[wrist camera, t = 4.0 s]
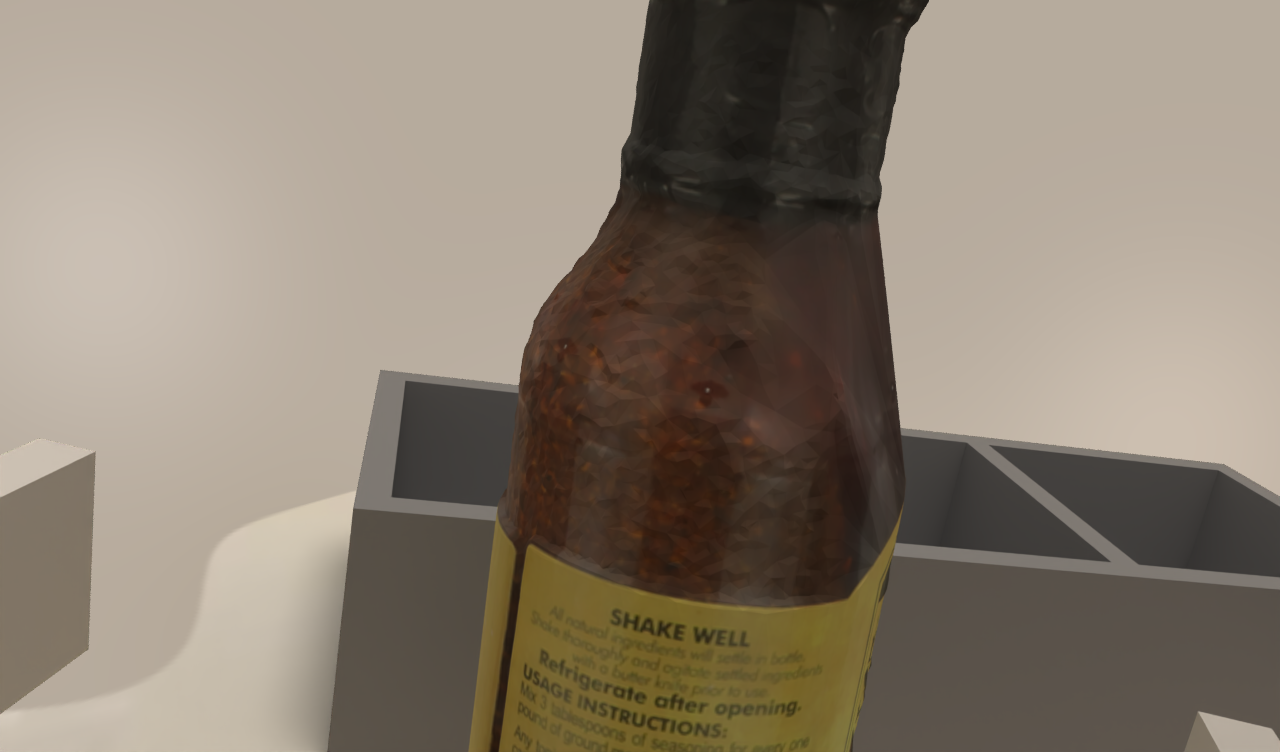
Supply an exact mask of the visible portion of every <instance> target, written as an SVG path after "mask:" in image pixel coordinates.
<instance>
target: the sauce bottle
mask: <svg viewBox="0 0 1280 752" xmlns="http://www.w3.org/2000/svg"><path fill="white" fill-rule="evenodd" d="M928 2H929V0H650V1H649V6H648V11H647V18H646V26H645V33H644V39H643V46H642V53H641V59H640V64H639V73H638V81H637V86H636V93H637V94H636V101H635V108H634V114H633V121H632V127H631V133H630V135H629V137H628V139H627V141H626V143H625V145H624V146H623V148H622V153H621V179H620V189H619V191H618V194H617V198H616V202H615V204H614V205H613V207H612V208H611V209H610V211H609V214H608V216H607V218H606V220H605V222H604V223H603V225H602V226H601V228H600V230H599V233H598V235H597V238H596V239H595V241H594V242H593V244H592V245H591V246H590V247H589V249H588V250H587V252H586V253H585V254H584V255H583V256H581V257H580V258H579V259H578V260H577V262H576V263H575V265H574V267H573V269H572V271H571V272H569V274H567V275H566V276H565V277H564V278H563V279H562V280H561V281H560V282H559V283H558V285H557V286H556V287H555V289H554V290H553V292H552V293H551V295H550V296H549V298H548V299H547V300H546V302H545V303H544V304H543V306H542V307H541V309H540V311H539V313H538V315H537V317H536V319H535V320H534V324H533V329H532V332H531V335H530V338H529V341H528V343H527V344H526V346H525V349H524V353H523V359H522V366H521V373H520V383H519V394H518V404H517V408H516V413H515V429H514V433H513V439H512V449H511V463H510V466H509V476H508V486H507V489H506V490H505V491H504V493H503V494H502V496H501V498H500V500H499V503H498V507H497V514H496V522H495V530H494V538H493V546H492V555H491V563H490V571H489V580H488V588H487V597H486V606H485V614H484V623H483V632H482V640H481V649H480V658H479V666H478V675H477V684H476V692H475V701H474V709H473V718H472V726H471V734H470V743H469V751H468V752H853V736H854V732H855V729H856V726H857V722H858V718H859V714H860V710H861V707H862V704H863V701H864V698H865V689H866V683H867V673H868V671H869V669H870V667H871V656H872V651H873V646H874V641H875V637H876V632H877V627H878V622H879V617H880V613H881V608H882V603H883V598H884V595H885V592H886V590H887V586H888V581H889V573H890V565H891V561H892V557H893V553H894V548H895V544H896V539H897V534H898V529H899V524H900V519H901V514H902V509H903V504H904V498H905V487H906V476H905V468H904V458H903V448H902V439H901V429H900V420H899V410H898V400H897V391H896V381H895V372H894V362H893V353H892V344H891V333H890V324H889V314H888V305H887V296H886V287H885V277H884V269H883V259H882V250H881V241H880V233H879V224H878V207H879V202H880V199H881V192H882V186H881V182H880V179H879V176H880V170H881V167H882V164H883V161H884V155H885V149H886V140H887V136H888V134H889V130H890V124H891V119H892V113H893V107H894V104H895V102H896V94H897V91H898V88H899V75H900V72H901V62H902V57H903V52H904V44H905V38H906V36H907V34H908V32H909V30H910V28H911V27H912V26H913V25H914V24H915V23H916V22H917V21H918V20H919V18H920V15H921V13H922V11H923V10H924V8H925V7H926V5H927V3H928Z"/></svg>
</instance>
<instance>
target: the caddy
mask: <svg viewBox="0 0 1280 752" xmlns="http://www.w3.org/2000/svg"><path fill="white" fill-rule="evenodd" d="M518 394H519V385H511V384H502V383H492V382H484V381H475V380H466V379H457V378H447V377H439V376H429V375H421V374H412V373H403V372H394V371H385V370H380V375H379V380H378V385H377V390H376V395H375V401H374V405H373V410H372V416H371V421H370V426H369V431H368V436H367V441H366V446H365V451H364V456H363V462H362V467H361V472H360V477H359V482H358V487H357V492H356V497H355V502H354V508H353V516H352V526H351V535H350V545H349V554H348V564H347V573H346V583H345V592H344V602H343V611H342V621H341V630H340V640H339V649H338V658H337V668H336V677H335V687H334V696H333V706H332V715H331V725H330V734H329V744H328V752H468V751H469V743H470V734H471V726H472V718H473V709H474V701H475V692H476V684H477V675H478V666H479V658H480V649H481V640H482V632H483V623H484V614H485V606H486V597H487V588H488V580H489V571H490V563H491V555H492V546H493V538H494V530H495V522H496V514H497V507H498V503H499V500H500V498H501V496H502V494H503V493H504V491H505V490H506V489H507V486H508V476H509V466H510V463H511V449H512V439H513V433H514V429H515V413H516V408H517V404H518ZM900 429H901V439H902V448H903V458H904V468H905V476H906V487H905V498H904V504H903V509H902V514H901V519H900V524H899V529H898V534H897V539H896V544H895V548H894V553H893V557H892V561H891V565H890V573H889V581H888V586H887V590H886V592H885V595H884V598H883V603H882V608H881V613H880V617H879V622H878V627H877V632H876V637H875V641H874V646H873V651H872V656H871V667H870V669H869V671H868V673H867V683H866V689H865V698H864V701H863V704H862V707H861V710H860V714H859V718H858V722H857V726H856V729H855V732H854V736H853V752H1184V750H1185V748H1186V745H1187V742H1188V739H1189V736H1190V733H1191V730H1192V727H1193V724H1194V721H1195V718H1196V716H1197V713H1198V711H1199V712H1204V713H1208V714H1212V715H1216V716H1221V717H1225V718H1229V719H1233V720H1237V721H1242V722H1246V723H1250V724H1254V725H1259V726H1263V727H1267V728H1271V729H1272V730H1273V731H1274V733H1275V734H1276V736H1277V737H1278V739H1279V740H1280V496H1278V495H1276V494H1274V493H1273V492H1271V491H1269V490H1267V489H1266V488H1264V487H1262V486H1261V485H1259V484H1257V483H1255V482H1254V481H1252V480H1250V479H1249V478H1247V477H1245V476H1243V475H1242V474H1240V473H1238V472H1236V471H1235V470H1233V469H1231V468H1230V467H1228V466H1226V465H1224V464H1217V463H1209V462H1200V461H1191V460H1182V459H1172V458H1164V457H1155V456H1146V455H1136V454H1128V453H1119V452H1109V451H1101V450H1092V449H1083V448H1074V447H1065V446H1056V445H1047V444H1038V443H1030V442H1021V441H1011V440H1002V439H994V438H984V437H975V436H967V435H957V434H949V433H940V432H931V431H922V430H912V429H903V428H900Z"/></svg>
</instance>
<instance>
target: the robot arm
mask: <svg viewBox="0 0 1280 752" xmlns="http://www.w3.org/2000/svg"><path fill="white" fill-rule="evenodd" d="M95 453H96V452H95V451H91V450H87V449H83V448H79V447H75V446H70V445H66V444H62V443H58V442H53V441H49V440H45V439H41V438H39V439H36V440H34V441H32V442H30V443H27V444H25V445H23V446H20V447H18V448H16V449H13V450H11V451H9V452H7V453H4V454H2V455H0V714H1V713H2V712H4V711H5V710H7V709H8V708H9V707H11V706H12V705H13V704H15V703H16V702H17V701H19V700H20V699H21V698H23V697H24V696H26V695H27V694H28V693H29V692H31V691H32V690H34V689H35V688H36V687H38V686H39V685H40V684H42V683H43V682H45V681H46V680H47V679H49V678H50V677H51V676H52V675H54V674H55V673H57V672H58V671H59V670H61V669H62V668H63V667H65V666H66V665H67V664H69V663H70V662H72V661H73V660H74V659H76V658H77V657H78V656H80V655H81V654H82V653H84V652H85V651H87V650H88V646H89V645H88V644H89V618H90V591H91V564H92V563H91V562H92V536H93V535H92V534H93V508H94V481H95ZM1184 752H1280V740H1279V739H1278V737H1277V736H1276V734H1275V733H1274V731H1273V730H1272V729H1271V728H1267V727H1263V726H1259V725H1254V724H1250V723H1246V722H1242V721H1237V720H1233V719H1229V718H1225V717H1221V716H1216V715H1212V714H1208V713H1204V712H1199V711H1198V713H1197V716H1196V718H1195V721H1194V724H1193V727H1192V730H1191V733H1190V736H1189V739H1188V742H1187V745H1186V748H1185V750H1184Z"/></svg>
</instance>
